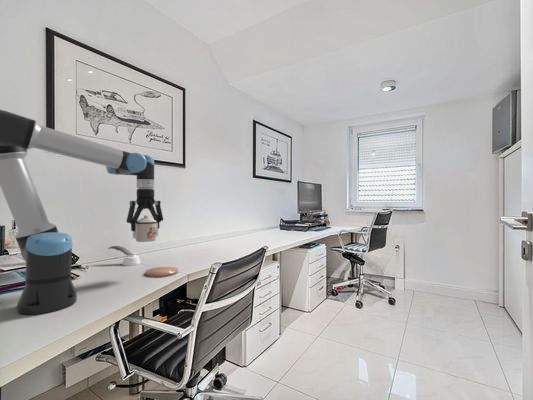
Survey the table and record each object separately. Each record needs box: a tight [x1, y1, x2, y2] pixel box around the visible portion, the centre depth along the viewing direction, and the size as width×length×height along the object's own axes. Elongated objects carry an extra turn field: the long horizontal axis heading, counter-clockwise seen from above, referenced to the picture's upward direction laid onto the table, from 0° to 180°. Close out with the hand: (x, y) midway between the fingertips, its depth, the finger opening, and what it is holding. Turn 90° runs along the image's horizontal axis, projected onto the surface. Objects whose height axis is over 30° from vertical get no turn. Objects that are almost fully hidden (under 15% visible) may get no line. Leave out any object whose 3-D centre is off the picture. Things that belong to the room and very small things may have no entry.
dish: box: [144, 266, 179, 278], centre depth 129 cm, size 15×15×1 cm
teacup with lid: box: [135, 215, 157, 243], centre depth 124 cm, size 12×9×12 cm
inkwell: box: [107, 245, 141, 267], centre depth 147 cm, size 9×18×10 cm, turn 93°
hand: (145, 237), depth 123 cm, fingers closed on teacup with lid, 9 cm apart
